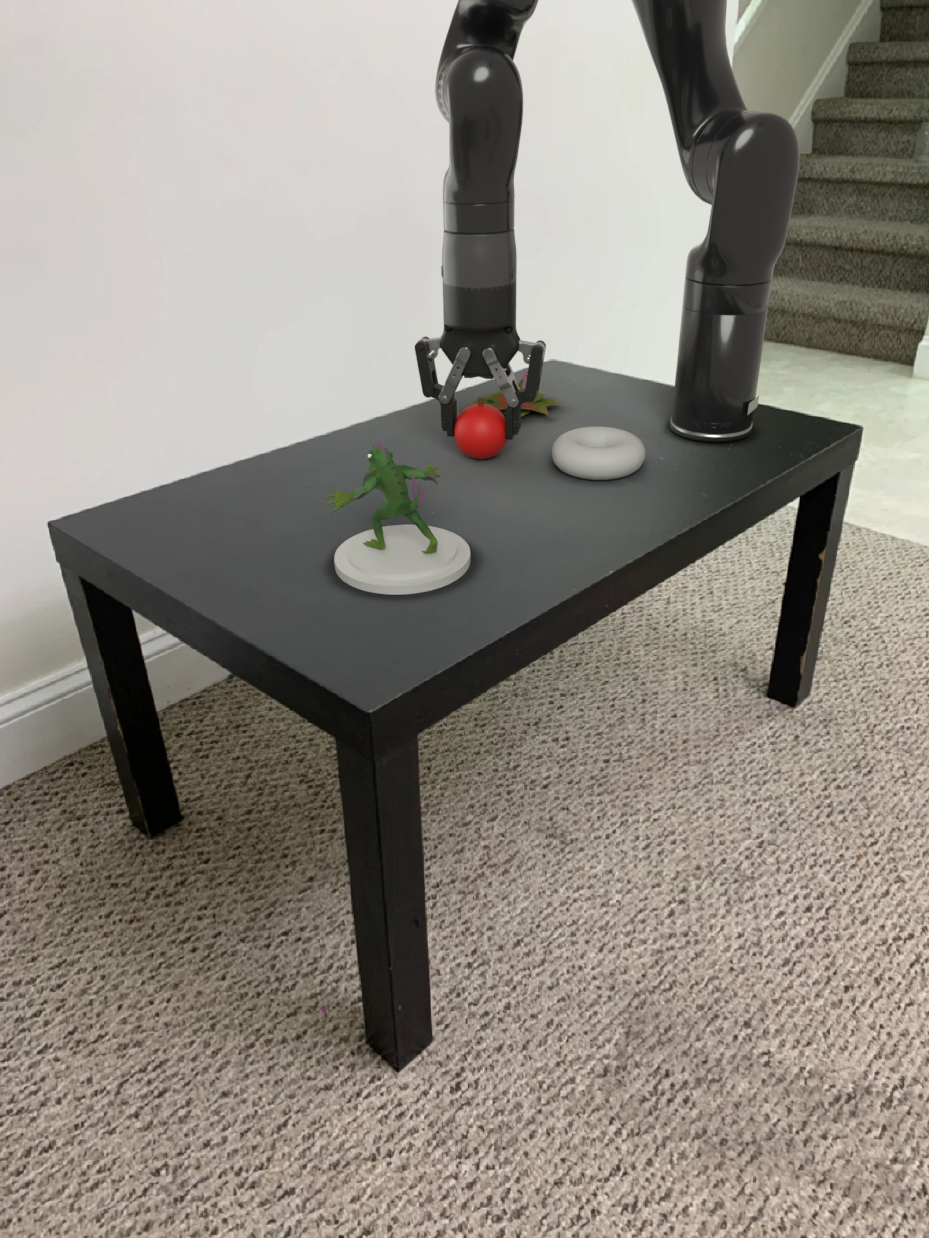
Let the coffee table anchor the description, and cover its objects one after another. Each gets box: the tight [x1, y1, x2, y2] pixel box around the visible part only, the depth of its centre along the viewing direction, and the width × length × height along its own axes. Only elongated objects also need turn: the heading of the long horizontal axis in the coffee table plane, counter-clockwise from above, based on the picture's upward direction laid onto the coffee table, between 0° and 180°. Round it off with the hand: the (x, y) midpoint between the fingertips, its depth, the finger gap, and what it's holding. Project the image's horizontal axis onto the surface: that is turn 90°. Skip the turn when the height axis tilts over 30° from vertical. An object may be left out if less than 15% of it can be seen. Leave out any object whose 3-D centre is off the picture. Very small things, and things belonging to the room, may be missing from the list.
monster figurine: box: [323, 438, 472, 596], centre depth 81 cm, size 12×12×10 cm
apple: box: [453, 395, 508, 460], centre depth 103 cm, size 6×6×7 cm
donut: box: [551, 426, 646, 481], centre depth 101 cm, size 10×4×10 cm
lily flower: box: [467, 370, 566, 418], centre depth 118 cm, size 12×12×5 cm
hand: (480, 435), depth 104 cm, fingers closed on apple, 6 cm apart
